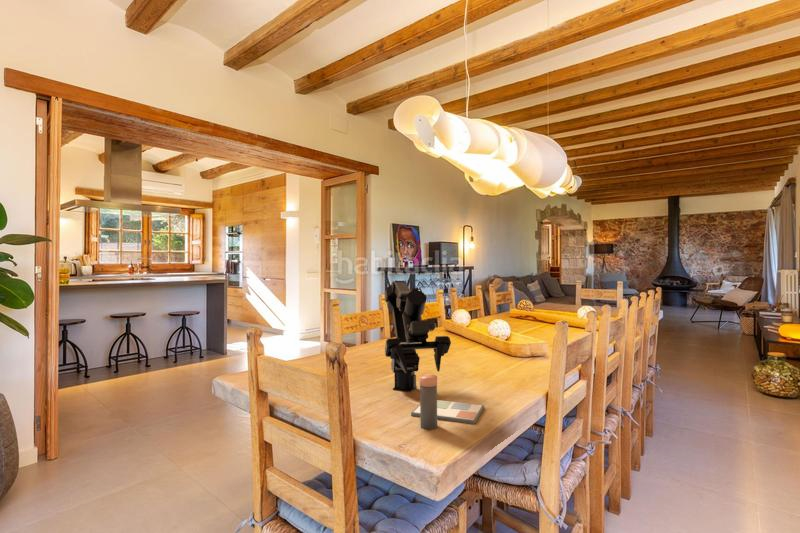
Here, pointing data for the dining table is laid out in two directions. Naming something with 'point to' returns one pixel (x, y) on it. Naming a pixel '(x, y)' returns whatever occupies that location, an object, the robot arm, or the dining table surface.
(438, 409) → the picture board
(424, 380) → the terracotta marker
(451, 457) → the dining table surface
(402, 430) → the dining table surface
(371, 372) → the dining table surface
